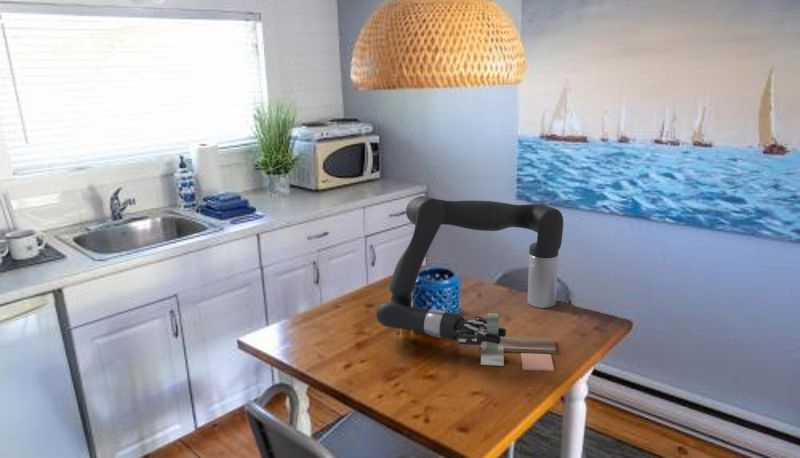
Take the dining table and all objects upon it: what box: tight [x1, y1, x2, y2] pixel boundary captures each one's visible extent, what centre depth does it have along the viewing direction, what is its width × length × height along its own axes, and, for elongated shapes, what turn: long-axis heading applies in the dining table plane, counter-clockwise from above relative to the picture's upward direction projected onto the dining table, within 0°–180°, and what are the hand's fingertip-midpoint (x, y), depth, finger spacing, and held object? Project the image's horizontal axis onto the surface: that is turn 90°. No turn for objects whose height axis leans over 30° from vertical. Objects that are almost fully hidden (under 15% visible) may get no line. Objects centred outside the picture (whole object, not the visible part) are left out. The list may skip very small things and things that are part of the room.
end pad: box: [520, 352, 555, 372], centre depth 153 cm, size 8×8×1 cm
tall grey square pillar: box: [480, 312, 505, 367], centre depth 152 cm, size 6×6×13 cm
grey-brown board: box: [478, 336, 556, 354], centre depth 162 cm, size 7×21×1 cm, turn 82°
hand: (502, 336), depth 151 cm, fingers closed on tall grey square pillar, 3 cm apart
